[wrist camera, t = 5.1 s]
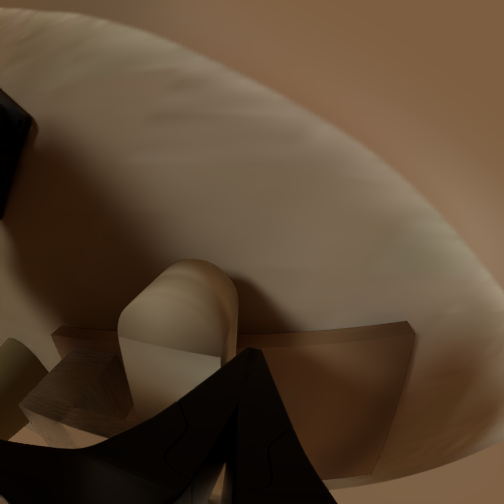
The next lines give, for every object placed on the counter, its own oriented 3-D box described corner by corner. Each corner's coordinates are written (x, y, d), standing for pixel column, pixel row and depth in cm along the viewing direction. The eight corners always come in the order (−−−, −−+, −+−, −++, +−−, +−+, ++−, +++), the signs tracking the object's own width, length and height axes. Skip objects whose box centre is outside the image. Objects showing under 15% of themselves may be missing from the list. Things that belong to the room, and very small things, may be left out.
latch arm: (240, 481, 14) (233, 518, 11) (173, 468, 14) (160, 502, 11) (262, 266, 9) (252, 310, 7) (138, 252, 10) (90, 284, 7)
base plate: (127, 450, 16) (122, 459, 15) (61, 326, 13) (50, 334, 12) (370, 462, 14) (372, 473, 13) (406, 320, 11) (414, 333, 10)
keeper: (244, 457, 15) (230, 535, 9) (140, 444, 16) (110, 506, 10) (210, 342, 12) (165, 451, 6) (83, 338, 13) (18, 405, 8)
